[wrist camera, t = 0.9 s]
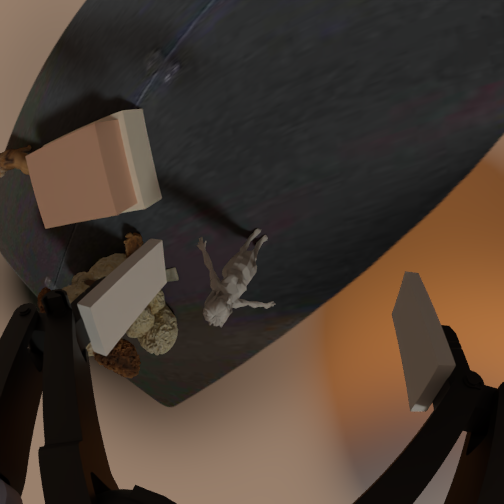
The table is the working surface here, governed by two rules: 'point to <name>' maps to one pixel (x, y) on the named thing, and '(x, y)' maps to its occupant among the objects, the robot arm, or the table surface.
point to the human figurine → (231, 282)
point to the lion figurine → (14, 160)
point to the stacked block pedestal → (95, 171)
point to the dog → (144, 327)
